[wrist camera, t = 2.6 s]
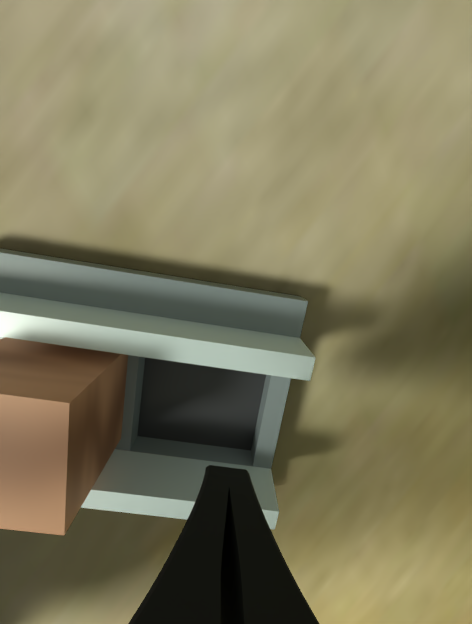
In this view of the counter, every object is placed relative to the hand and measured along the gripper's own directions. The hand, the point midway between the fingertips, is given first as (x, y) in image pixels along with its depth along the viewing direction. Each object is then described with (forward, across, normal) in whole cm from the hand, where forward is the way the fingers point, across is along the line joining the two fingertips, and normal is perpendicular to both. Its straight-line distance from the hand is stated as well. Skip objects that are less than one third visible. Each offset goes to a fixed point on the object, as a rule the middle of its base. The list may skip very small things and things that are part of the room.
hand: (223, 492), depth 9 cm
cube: (+5, +8, 0) cm, 9 cm away
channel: (+7, +5, 0) cm, 8 cm away
